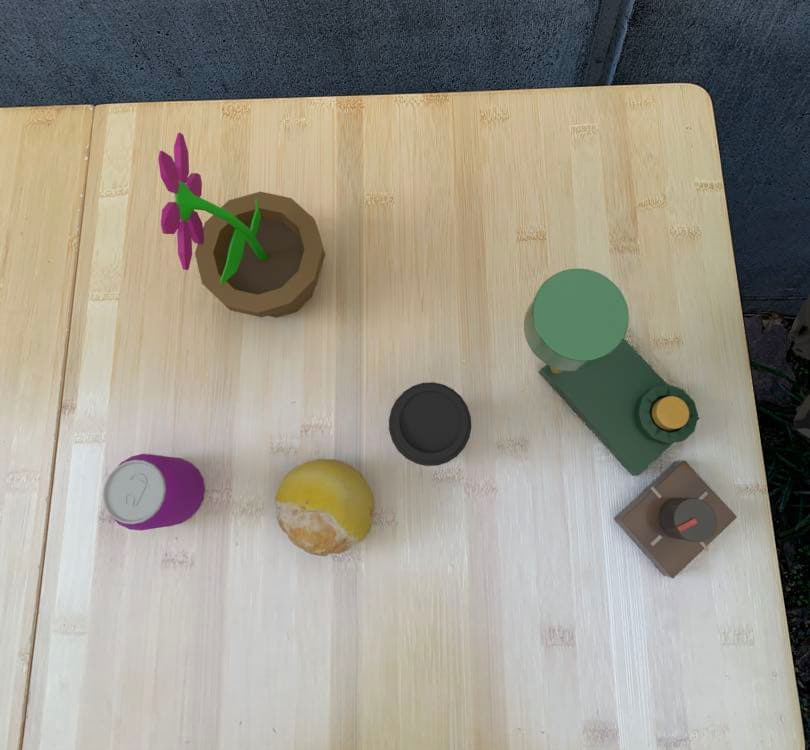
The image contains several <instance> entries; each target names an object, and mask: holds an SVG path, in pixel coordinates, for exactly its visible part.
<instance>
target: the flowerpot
mask: <svg viewBox="0 0 810 750" xmlns="http://www.w3.org/2000/svg"><path fill="white" fill-rule="evenodd" d="M185 139H186V138H185V136H184V134H183V133H181V132H177V134H176V138H175V142H174V145H173V157H172V156H171V155H170V154H169V153H167V152H166V151H164V150H159V152H158V157H157V159H158V167H159V173H160V178H161V181H162V182H163V184H164V186H165V189H166V190H167V192H170V193H173V194H174V200H175V201H168V202H167V203H166V205H165V206H164V207H163V208H162V209H161V217H160V227H161V231H162V234H164V235H175V234H176V238H177V239H176V240H177V241H176V242H177V243H176V244H177V256H178V258H179V261H180V265H181V268H182V270H183V271H189V270H190V265H191V261H192V259H193V258H192V257H193V243H194V244H196V248H195V251H194V255H195V259H196V264H197V268H198V269H197V270H198V273H199V277H200V281H201V284H202V285H203V286H204V287H205V288H206V289H207V290H208V291H209V292H210V293H211V294H213V296H214V297H215V298H217V300H219V302H221V304H222V305H223V306H225V307H226V308H227V309H228V310H229V311H230V312H231V311H232V312H235V313H239V314H245V315H249V316H253V317H257V318H264V317H265V318H266V317H271V318H280V317H284V316H287V315H290V314H294V313H297V312H298V311H299V310H300V309H301V308H302V307H303V306H305V304H306V303H308V301H310V300H311V298H312V297H313V296H314V291H315V287H316V286H317V285H318V282H319V279H320V275H321V271H322V268H323V264H324V260H325V257H326V251H325V249H324V245H323V242H322V238H321V235H320V231H319V228H318V225H317V222H316V219H315V218H314V217H313V216H312V215H311V214H310V213H309V212H308V211H306V210H305V209H304V208H303V207H302V206H301V205H300V204H298V202H297V201H295V200H294V199H293V198H292V197H288V196H284V195H279V194H274V193H268V192H264V191H257V192H253V193H250V194H246V195H242V196H239V197H236V198H232V199H229V200H227V201H226V202H225V203H223V205H222V206H221V207H220V206H219V205H216V204H215V203H212V202H210V201H208V200H206V199H204V198H202V194H203V193H202V191H203V181H202V177H201V174H199V173H198V172H191V173H190V160H189V157H190V156H189V149H188V147H187V143H186V140H185ZM196 210H197V211H196ZM198 211H205V212H206V213H208V214H211V216H210V217H209V218H208V219H207V220H205V222H204V224H203V221H202V219H201V217H200V215H199V213H198Z"/></svg>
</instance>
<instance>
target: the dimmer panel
mask: <svg viewBox="0 0 810 750" xmlns="http://www.w3.org/2000/svg"><path fill="white" fill-rule="evenodd" d="M672 498H696V499H700V500H703V501H704V502H706V503H707V504H708V505H710V507H711V508H712V509H713V511H714V513H715V515H716V520H717V525H716V530H715V532H714V534H713V535H712V536H711V537H710V538H709V539H708V540H706V541H703V542H691V541H686V540H680V539H676V538H673V537H671V536H670V535H668V534H667V533H666V532H665V531H664V529H663V528H662V526H661V523H660V518H659V514H660V510H661V508H662V506H663V504H664V503H665V502H666V501H668V500H670V499H672ZM737 517H738V516H737V515H736V513H734V512H733V511H732V509H730V508H729V506H728V505H727V504H726V503H725V502H724V501H723V500H722V499H721V497H719V496H718V495H717V494H716V493H715V491H714V490H713V489H712V488H711V487H710V486H709V485H708V483H706V482H705V480H704V479H703V478H702V477H701V476H700V475H699V474H698V473H697V472H696V470H694V468H693V467H691V465H690V464H688V462H687V461H686V460H678V461H677V460H676V461H674V462H673V463H672V464H670V465H669V467H667V468H666V469H665V470H664V471H663V472H662V473H661V474H660V475H659V476H658V477H657V478H656V479H654V480H653V481H652V482H651V483H650V484H649V485H648V486H647V487H646V488H644V490H643V491H641V493H639V494H638V495H637V496H636V497H635V498H634V499H633V500H632V501H631V502H630V503H629V504H628V505H627V506H626V507H624V508H622V510H621V511H620V512H619V513H618V514H617V515H616V516H614V517H613V520H614V521H615V522H616V523H617V524H618V526H619V527H620V528H621V529H622V531H624V532H625V534H626V535H627V536H628V537H629V538H630V539H631V540H632V542H633V543H634V544H635V545H636V547H638V548H639V549H640V551H641V552H642V553H643V554H644V555H645V556H646V557H647V559H649V561H650V563H652V564H653V566H655V568H656V569H657V570H658V571H659V572H660V573H661V575H662V576H664V577H667V578H670V579H675V578H676V577H677V575H679V574H680V573H681V572H682V571H683V570H684V569H685V568H686V567H687V566H688V565H689V564H690V563H691V562H692V561H693V560H695V558H696V557H697V556H699V554H701V553H702V551H703V550H705V551H706V552H708V551H709V550H710V548H709V547H708V546H709V545H710V543H712V542H713V541H714V540H715V539H716V538H717V537H719V535H720V534H721V533H723V531H725V529H727V527H729V526H730V524H731V523H733V522H734V521H735V520H736V519H737Z"/></svg>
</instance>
